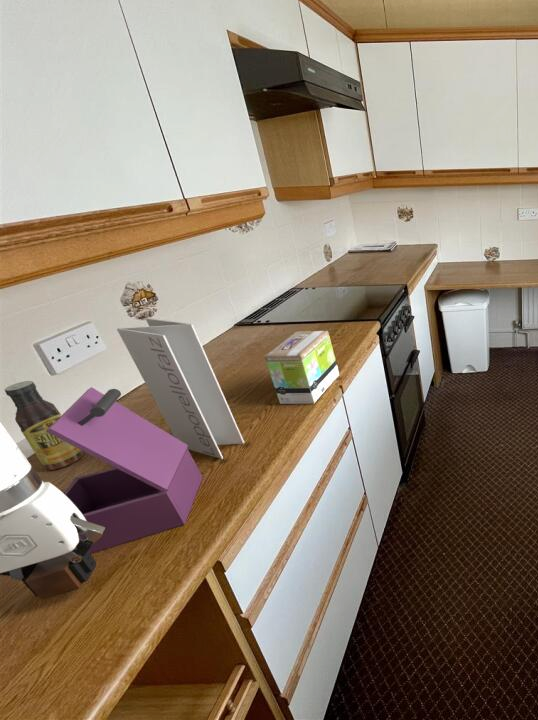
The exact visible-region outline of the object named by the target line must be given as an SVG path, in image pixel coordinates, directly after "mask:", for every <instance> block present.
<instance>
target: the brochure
mask: <svg viewBox="0 0 538 720" xmlns="http://www.w3.org/2000/svg"><path fill="white" fill-rule="evenodd" d="M145 320H146V323H147V325H148V326H136V327H135V326H134V327H119V328H116V331H117V332H118V334H119V336H120V339H121V340H122V342H123V344H124V346H125V347H126V349H127V351H128V353H129V355H130V357H131V359H132V360H133V362H134V365H135V366H136V369H137V370H138V372H139V374H140V375H141V378H142V379H143V381H144V384H145V385H146V387H147V389H148V390H149V393H150V395H151V397H152V399H153V400H154V402H155V404H156V406H157V407H158V410H159V411H160V413H161V416H162V417H163V419H164V421H165V423H166V425H167V426H168V428H169V430H170V432H171V435H172V436H173V437H175V438H177V439H178V440H180V441H182V442H183V443H185V444H187V445H188V447H187V449H188V450H189V451H194V452H196V453H200V454H203V455H206V456H209V457H210V456H211V457H213V458H217V459H221V460H223V459H224V456H223V455H222V452H221V451H220V448H219V446H221V445H222V446H223V445H224V446H225V445H242V444H245V440H244V438H243V435H242V433H241V431H240V429H239V427H238V424H237V422H236V420H235V417H234V415H233V413H232V410H231V408H230V406H229V404H228V401H227V400H226V397H225V395H224V392H223V391H222V388H221V385H220V383H219V381H218V379H217V376H216V375H215V372H214V370H213V368H212V365H211V363H210V360H209V358H208V355H207V354H206V351H205V349H204V347H203V345H202V343H201V341H200V338H199V336H198V334H197V331H196V329H195V326H194V324H193V323H187V322H181V321H173V320H165V319H164V320H163V319H155V318H149V317H148V318H147V317H146V318H145Z"/></svg>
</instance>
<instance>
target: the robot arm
mask: <svg viewBox="0 0 538 720" xmlns="http://www.w3.org/2000/svg"><path fill="white" fill-rule="evenodd" d="M63 493H64V492H62V491H61V490H60V489H59V488H58V487H57V486H55V485H54V484H53V483H51V482H50V481H43V479H42V478H41V476H40V475H39V474H38V472H37V471H36V470H35V468H34V467H33V465H32V464H31V463H30V462H29V460H28V459H27V457H26V455H25V454H24V453H23V451H22V450H21V449H20V448H19V446H18V445H17V443H16V442H15V440H14V439H13V438H12V437H11V435H10V434H9V432H8V431H7V429H6V428H5V427H4V424H2V422H1V421H0V576H4V577H5V576H7V577H10V579H11V580H12V581H14V582H15V581H17V582H18V581H22V582H23V584H24V585H25V586H26V587H27V588H28V589H29V591H30V592H32V594H33V595H34V596H35V597H36V598H39V597H38V596H37V594H36V593H35V592H34V591H33V590H32V589H31V588H30V586H29V585H28V584H27V583H26V582H25V581H26V579H27V578H28V577H29V575H30V574H31V572H32V571H33V569H34V568H35V567H36V565H37V564H38V562H41V561H45V560H48V559H51V558H55V557H58V556H61V555H62V556H63V557H65V558H66V559H67V560H69V561H70V562H71V564H70V565H69V568H70V569H71V570H72V572H73V573H74V574H75V576H76V577H77V578H78V580H79V581H80V582H82V584H83V583H86V582H88V581H89V579H90V578H91V576H92V574H93V572H94V571H95V569H96V567H97V561H96V560H95V558H94V556H93V555H92V553H91V554H90V553H89V551H88V550H89V549H90V547H91V546H92V545H93V544H94V543H95V542H96V541H97V540H98V539H100V538H101V537H102V535H103V534H104V532H105V530H106V527H104V526H100V525H97V524H94V523H91V522H88V521H86V519H85V517H84V516H83V515H82V513H81V512H80V511H79V509H78V508H77V507H76V506H75V505H74V504H73V503H72V501H71V500H70V499H69V498H68V497H67V496H66V495H65V494H63ZM78 534H82V535H85V536H86V537H85V539H83V538H82V537H81V536H79V535H78ZM75 547H76V548H77V549H76V550H74V548H75Z"/></svg>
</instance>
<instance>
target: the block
mask: <svg viewBox="0 0 538 720" xmlns="http://www.w3.org/2000/svg"><path fill="white" fill-rule="evenodd" d="M76 549H77V548H76V547H75V548H74V550H76ZM70 564H71V562H70V561H69V560H67V559H66V558H65V557H63V556H62V555H61V556H58V557H55V558H51V559H48V560H45V561H41V562H38V564H37V565H36V567H35V568H34V569H33V571H32V572H31V574H30V575H29V577H28V578H27V579H26V581H25V582H26V583H27V584H28V585H29V586H30V588H31V589H32V590H33V591H34V592H35V593H36V594H37V596H38V597H37V598H38V599H40V600H41V601H43V600H47V599H50V598H53V597H56V596H59V595H60V596H61V595H63V594H66V593H70V592H72V591H76V590H78V589H80V588H81V586H82V585H83V583H82V582H80V581H79V580H78V578H77V577H76V576H75V574H74V573H73V572H72V570H71V569H70V568H69V565H70Z"/></svg>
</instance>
